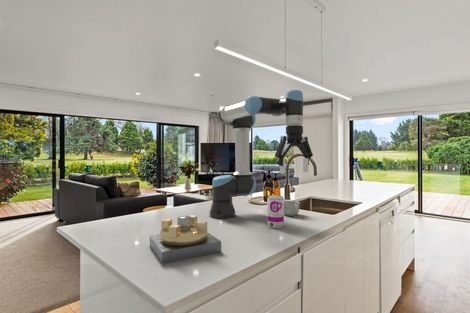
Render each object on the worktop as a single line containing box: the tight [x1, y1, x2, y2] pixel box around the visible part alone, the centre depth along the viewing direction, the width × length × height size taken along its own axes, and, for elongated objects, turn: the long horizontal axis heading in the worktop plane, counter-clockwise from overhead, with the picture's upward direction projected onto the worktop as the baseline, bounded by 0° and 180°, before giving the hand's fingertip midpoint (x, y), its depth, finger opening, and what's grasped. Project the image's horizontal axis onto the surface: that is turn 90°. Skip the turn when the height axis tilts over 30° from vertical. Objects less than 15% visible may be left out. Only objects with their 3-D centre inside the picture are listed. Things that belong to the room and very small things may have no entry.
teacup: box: [284, 200, 300, 217], centre depth 158 cm, size 14×11×8 cm
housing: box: [149, 232, 222, 265], centre depth 104 cm, size 20×22×4 cm
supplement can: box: [266, 194, 285, 229], centre depth 135 cm, size 8×8×15 cm
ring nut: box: [159, 214, 209, 246], centre depth 104 cm, size 18×18×8 cm
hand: (294, 172), depth 122 cm, fingers open, 13 cm apart
